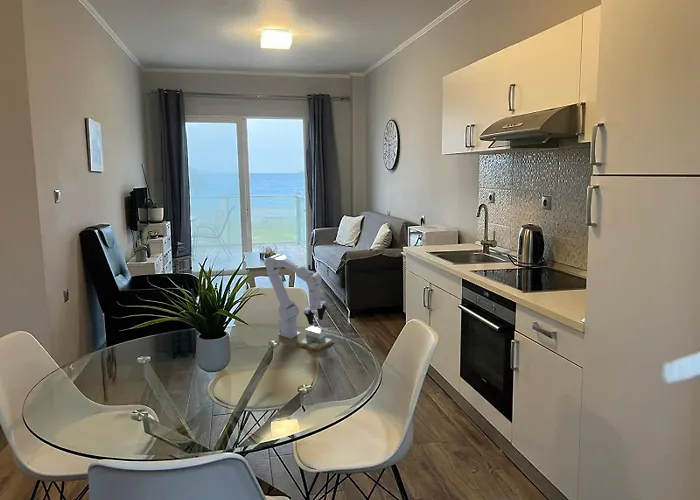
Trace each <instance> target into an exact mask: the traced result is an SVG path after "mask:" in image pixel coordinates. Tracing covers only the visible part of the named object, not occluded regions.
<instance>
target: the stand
mask: <svg viewBox="0 0 700 500" xmlns="http://www.w3.org/2000/svg"><path fill="white" fill-rule="evenodd" d="M325 339H326V341H325V342H323V343H322V344H317V343H314V342H311V341H307V340H306V337H304V338H301V339H300V340H299V341H298V343H296V346H297V347H300V348H304V349H307V350H309V351H313V352H316V353H319V352H321V351H323V350H324V349H326V348H328V347H329V346H331V345H332V344H334V343H335V340H333V339H331V338H328V337H325Z"/></svg>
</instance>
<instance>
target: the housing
mask: <svg viewBox="0 0 700 500" xmlns="http://www.w3.org/2000/svg"><path fill="white" fill-rule="evenodd" d="M305 338H306V340H307V341H311V342H314V343H317V344H322V343H323V342H325V341H326V339H325V338H326V330H325V329H323V328H319V327H315V326H313V325H311V326H309V327H307V328H305Z"/></svg>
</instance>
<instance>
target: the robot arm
mask: <svg viewBox="0 0 700 500" xmlns="http://www.w3.org/2000/svg"><path fill="white" fill-rule="evenodd" d="M264 266H265V269H266V274H267V276H268V279H269V281H270V284H271V286H272V288H273V290H274V293H275V295H276V297H277V300H278V303H279V307H277V308H278V312H279V313H278V314H279V317H280V319H279V320H278V335H277V336H281V337H285V338H288V339H293V338H295V337H297V336H299V335H301V332H300V331H298V325H297V324H298V323H297V322H298V321H297V317H298V315H299V314H300V313H299V312H300V310H299V307H298V305H296V303H295V302H294V301H293V300H291V299H290V297H289V295H288V293H287V290H286V288H285V287H286V286H285V285H284V283H283V280H282V279H281V276H280V269H281V268H285V269H287V270H289V271H291V272H294V273H295V275H296V277H297V278H299V279H300V280H302V281H304V282H305V283H306V285H307V288H308V299H309V300H308V301H309V303H308V304H309V305H308V306H307V307H305V308H304V311H303V314H304V315H305V318H306V319H307V323H308V324H309V325H311V326H313V325H314V317H315V312H313V311H314V310H316V311H317V316H318V317H317V318H318V320H320V321H323V320H324V315H325V312H326V311H327V309H328V308H327V306H326V305H327V302H326V300H321V299H322V298H321V297H322V296H321V283H322V282H323V277H322V275H321V274H320V273H319V272H313V271H311V270H309V269H307V267H305V266H298V265H297V264H296V263H294V262H293V261H291V260H290V259H288V258H287V255H285V254H283V253H281V252H279V253H277V254H274V255H271V256H268V257H266V258H265V259H264Z"/></svg>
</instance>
